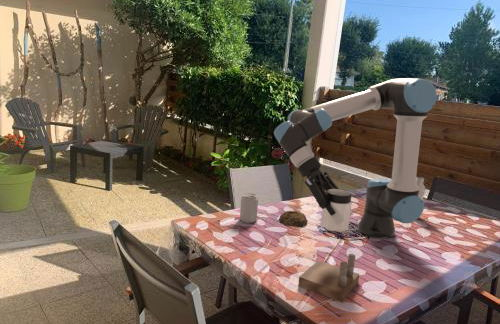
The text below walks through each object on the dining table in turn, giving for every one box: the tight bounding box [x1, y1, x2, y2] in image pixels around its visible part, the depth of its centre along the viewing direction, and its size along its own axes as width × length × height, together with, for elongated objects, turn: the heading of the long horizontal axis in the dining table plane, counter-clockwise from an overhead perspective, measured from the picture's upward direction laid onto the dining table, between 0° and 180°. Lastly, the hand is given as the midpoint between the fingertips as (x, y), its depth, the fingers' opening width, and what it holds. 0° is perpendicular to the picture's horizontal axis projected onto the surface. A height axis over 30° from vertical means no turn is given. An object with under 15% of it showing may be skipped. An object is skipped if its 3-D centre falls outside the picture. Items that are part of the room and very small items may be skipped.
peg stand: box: [298, 253, 360, 303], centre depth 116 cm, size 14×14×10 cm
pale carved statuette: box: [415, 176, 426, 219], centre depth 183 cm, size 6×7×20 cm
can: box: [239, 192, 259, 224], centre depth 166 cm, size 8×8×12 cm
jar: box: [320, 188, 353, 233], centre depth 124 cm, size 9×8×12 cm
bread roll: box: [277, 210, 308, 228], centre depth 169 cm, size 13×12×5 cm
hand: (345, 219), depth 123 cm, fingers closed on jar, 8 cm apart
